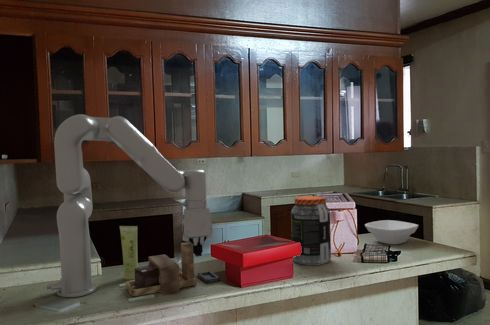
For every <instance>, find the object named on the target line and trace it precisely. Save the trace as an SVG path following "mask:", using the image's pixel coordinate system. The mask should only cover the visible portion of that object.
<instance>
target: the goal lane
mask: <svg viewBox="0 0 490 325" xmlns="http://www.w3.org/2000/svg"><path fill="white" fill-rule="evenodd" d="M118 286H119V288H126V287H125V283H122V284H121V283H119V285H118ZM154 298H155V294H154V293H151V294H146V295H140V296H135V297H132V298H128V299H127V300H128V302H129V303H133V302H134V303H135V302H138V301H142V300H149V299H154Z"/></svg>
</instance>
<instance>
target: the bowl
mask: <svg viewBox="0 0 490 325" xmlns="http://www.w3.org/2000/svg"><path fill="white" fill-rule="evenodd" d="M364 227H365V228H366V229H367V231H368V232H369V233H371V234H372V235H373V237H374V238H375V241H377V242H379V243H383V244H387V245H398V244H403V243H407V240H408V239H409V238H410V236H411V235H412V234H414V233H415V232H416V231H417V229H418V228H419V224H416V223H412V222H407V221H401V220H392V219H391V220H390V219H386V220H385V219H384V220H377V221H371V222H367V223H365V224H364Z"/></svg>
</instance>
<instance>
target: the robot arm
mask: <svg viewBox="0 0 490 325" xmlns="http://www.w3.org/2000/svg"><path fill="white" fill-rule="evenodd" d="M53 141H54V142H53V143H54V145H53V146H54V148H53V149H54V160H55V161H54V162H55V176H56V179H55V180H56V187H57V188H58V190H59V191H60V192H61V193H62V194H63V202H62V203H61V204H60V205H59V207H58V209H57V211H56V224H57V229H58V237H59V238H58V239H59V254H60V255H59V256H60V257H59V258H60V274H61V275H60V278H59V280H57V282H48V283H46V289H47V290H50V291H55V290H57V291H56V295H57V296H58V297H61V298H78V297H82V296H87V295H90V294H92V293H94V292H96V290H97V289H98V286H97V284H96V282H93V280H92V278H93V276H92V258H91V257H92V256H91V255H92V254H91V239H90V238H91V236H90V229H89V227H90V226H89V218H90V217H91V216H92V213H93V207H94V206H93V194H92V183H91V182H92V181H91V175H90V174H89V172H88V170H87V169H85V168H84V161H83V150H82V143H83V141H97V142H98V141H99V142H102V141H103V142H113V143H115V144H116V145H117V146H118V148H120V149H121V150H122V151H123V152H124V153H125V154H126V155H128V157H129V158H131V160H133V161H134V162H135V164H136V165H138V166H139V167H140V168H142V170H144V171H145V172H146V173H147V174H148V175H149V176H150V177H151V178H152V179H153V180H154V181H155V182H156V183H157V184H158V185H159V186H161V187H162V188H163V189H164V190H165V191H166V192H167V193H170V194H176V193H179V192H181V191H182V190H184V201H183V202H181V207H184V209H183V213H182V221H181V223H182V224H181V231H182V232H181V233H182V241H184V242H190V244H191V245H193V256H196V257H197V258H198V257H202V254H203V245H204V244H205V241H207V240H208V239H210V238H212V234H213V222H212V221H213V220H212V215H211V214H212V213H211V211H210V207H209V206H208V205H207V204H208V203H207V180H206V179H207V178H206V177H207V176H206V175H207V174H206V171H204V169H188V170H182V169H181V170H180V169H176V168H175V167H174V166H173V165H172V164H171V163H170V162H169V160H167V159H166V158H165V157H164V156H163V155H162V154H161V152H159V150H158V149H157V148H156V146H155V145H154V143H152V142H151V141H150V140H149V139H148V138H147V137H146V136H145V135H144V134H143V133H142V132H140V131H139V130H138V128H136V127H135V125H133V124H132V122H130V121H129V120H128V119H127V118H125V117H123V116H121V115H115V116H113V117H100V116H99V117H98V116H90V115H87V114H81V113H80V114H75V115H72V116H70V117H68V118H66V119H65V120H63V122H61V124H59V126H58V127H57V130H56V131H55V135H54V140H53Z"/></svg>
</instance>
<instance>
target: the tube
mask: <svg viewBox="0 0 490 325" xmlns="http://www.w3.org/2000/svg"><path fill="white" fill-rule="evenodd" d="M119 231H120V240H121V250H122V262H123V274H124V275H123V276H124V280H126V281H132V280H135V268H138V267H139V265H138V264H139V263H138V257H139V256H138V225H119Z"/></svg>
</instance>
